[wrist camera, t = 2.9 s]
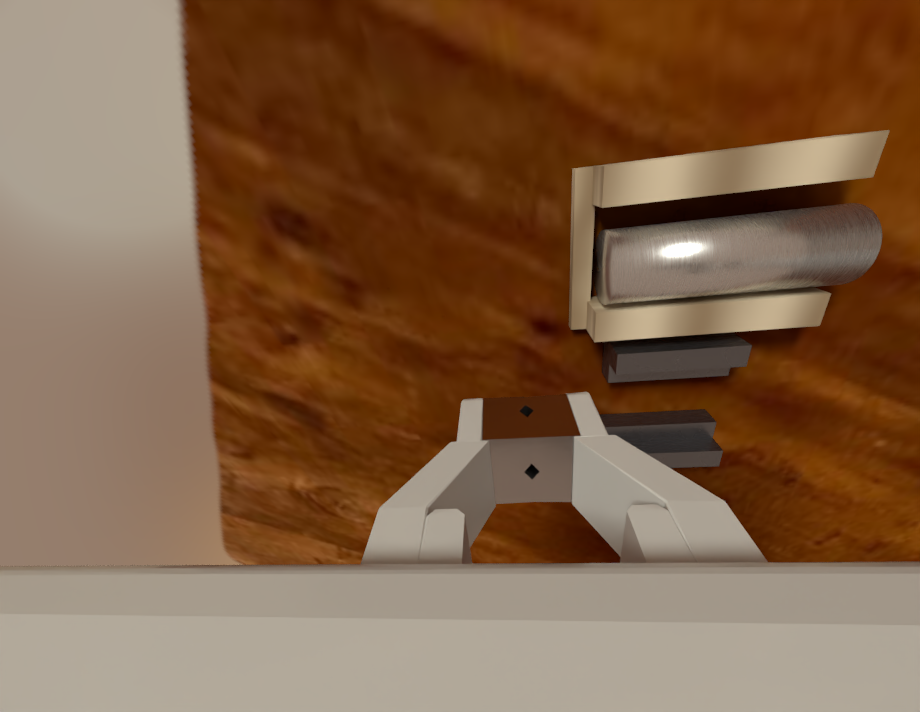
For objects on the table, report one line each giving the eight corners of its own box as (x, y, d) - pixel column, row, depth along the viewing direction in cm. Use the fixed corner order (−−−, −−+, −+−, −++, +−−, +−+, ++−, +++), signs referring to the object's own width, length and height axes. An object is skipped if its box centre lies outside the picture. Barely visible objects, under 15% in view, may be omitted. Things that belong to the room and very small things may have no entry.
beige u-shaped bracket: (835, 135, 20) (889, 130, 17) (783, 308, 24) (819, 325, 22) (572, 168, 21) (584, 168, 19) (568, 325, 26) (578, 343, 23)
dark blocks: (724, 326, 25) (752, 345, 22) (698, 439, 30) (718, 466, 27) (604, 335, 26) (617, 354, 23) (596, 443, 30) (607, 469, 28)
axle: (834, 191, 21) (901, 222, 17) (796, 261, 24) (847, 299, 20) (598, 217, 22) (619, 251, 19) (590, 281, 25) (607, 319, 22)
